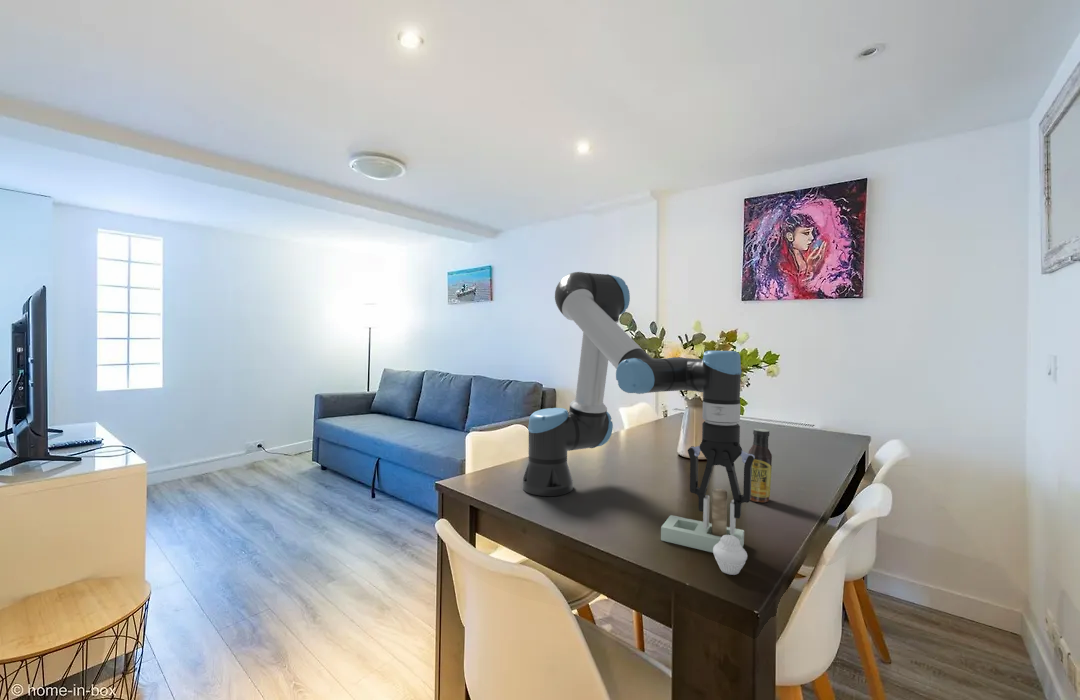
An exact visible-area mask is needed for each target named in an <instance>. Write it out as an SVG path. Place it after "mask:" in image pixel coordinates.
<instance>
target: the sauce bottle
mask: <svg viewBox="0 0 1080 700" xmlns="http://www.w3.org/2000/svg"><path fill="white" fill-rule="evenodd" d="M752 434H753V442H752V445H751V447H750V449H749V450H748V452H747V453H748V454H754V455H755V458H754V461H753V463H752V471H751V498H750V501H751V502H754V503H760V504H763V503H764V504H765V503H767V502H770V497H771V484H772V481H771V480H772V469H773V468H772V467H773V463H772V461H773V460H772V459H773V455H772V453H771V451H770V449H769V436H770V430H769V429H764V428H753V430H752Z"/></svg>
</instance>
